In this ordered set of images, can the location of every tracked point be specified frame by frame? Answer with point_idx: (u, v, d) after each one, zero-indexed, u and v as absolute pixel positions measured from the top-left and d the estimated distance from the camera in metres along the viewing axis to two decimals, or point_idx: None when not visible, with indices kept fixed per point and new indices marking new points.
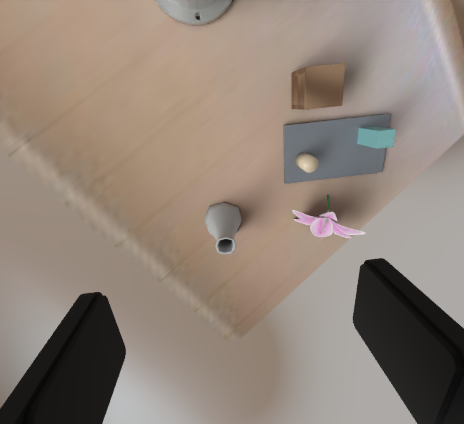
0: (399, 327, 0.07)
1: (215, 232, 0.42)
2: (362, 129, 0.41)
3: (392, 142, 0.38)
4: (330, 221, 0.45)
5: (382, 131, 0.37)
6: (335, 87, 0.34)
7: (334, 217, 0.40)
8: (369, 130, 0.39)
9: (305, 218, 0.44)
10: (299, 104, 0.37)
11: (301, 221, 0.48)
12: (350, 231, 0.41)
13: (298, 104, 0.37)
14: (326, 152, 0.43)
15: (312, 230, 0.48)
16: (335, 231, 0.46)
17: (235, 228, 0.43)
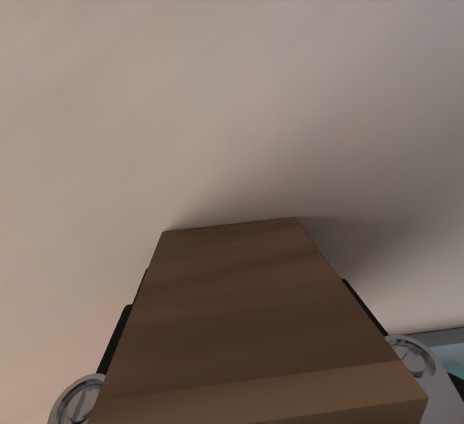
0: None
1: None
2: None
3: None
4: None
5: None
6: None
7: None
8: None
9: None
10: None
11: None
12: None
13: None
14: None
15: None
16: None
17: None
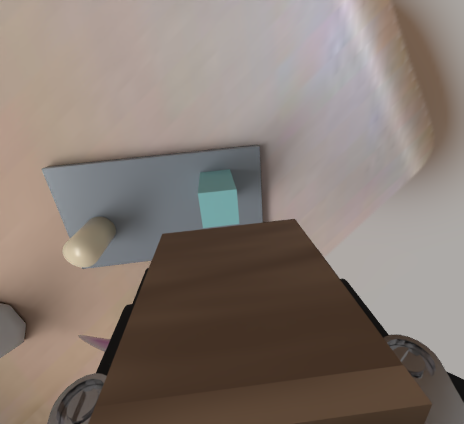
0: None
1: None
2: None
3: (236, 215, 0.17)
4: None
5: (206, 194, 0.17)
6: None
7: None
8: None
9: None
10: None
11: None
12: None
13: None
14: (146, 217, 0.23)
15: None
16: None
17: None
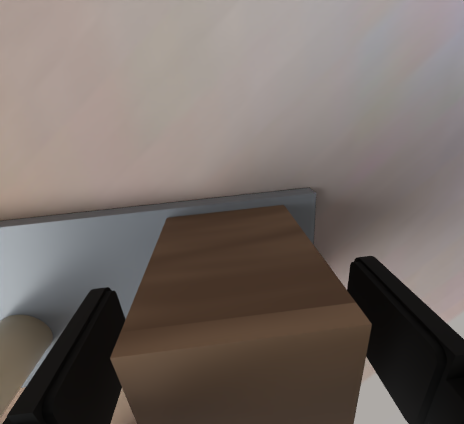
0: (386, 323, 0.07)
1: None
2: None
3: None
4: None
5: None
6: (311, 414, 0.06)
7: None
8: None
9: None
10: None
11: None
12: None
13: None
14: None
15: None
16: None
17: None
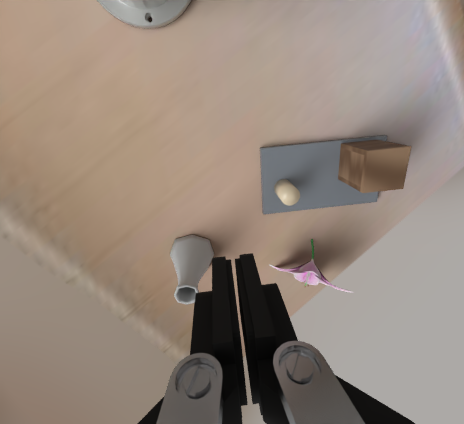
0: (242, 313, 0.08)
1: (178, 274, 0.35)
2: None
3: None
4: None
5: None
6: (397, 171, 0.30)
7: (316, 274, 0.35)
8: None
9: (285, 270, 0.39)
10: (352, 183, 0.33)
11: (283, 269, 0.42)
12: (337, 288, 0.36)
13: (350, 181, 0.33)
14: (311, 180, 0.37)
15: (297, 278, 0.43)
16: (322, 281, 0.40)
17: (203, 267, 0.37)
